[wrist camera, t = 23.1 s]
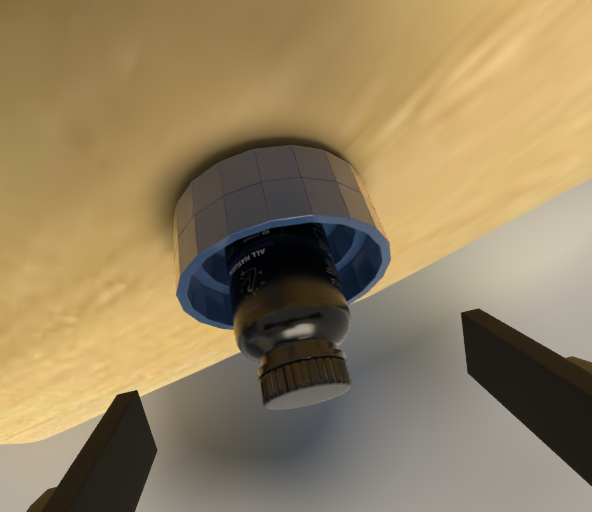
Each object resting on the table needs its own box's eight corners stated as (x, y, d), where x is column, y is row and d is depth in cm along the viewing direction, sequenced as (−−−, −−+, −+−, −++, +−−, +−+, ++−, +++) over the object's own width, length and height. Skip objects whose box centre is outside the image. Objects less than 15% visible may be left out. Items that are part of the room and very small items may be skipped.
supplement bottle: (224, 185, 22) (254, 388, 16) (329, 186, 24) (395, 366, 18) (217, 252, 27) (238, 424, 21) (304, 248, 30) (347, 403, 23)
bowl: (193, 275, 31) (199, 343, 28) (148, 149, 20) (147, 237, 17) (345, 251, 33) (366, 312, 30) (379, 125, 22) (419, 200, 19)
